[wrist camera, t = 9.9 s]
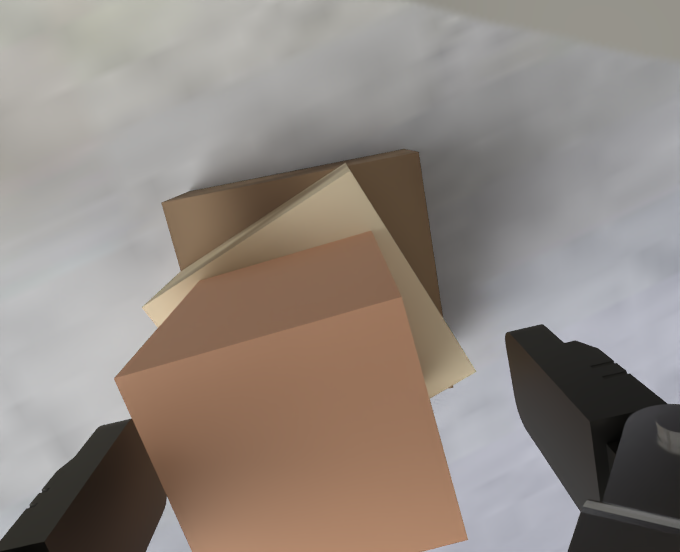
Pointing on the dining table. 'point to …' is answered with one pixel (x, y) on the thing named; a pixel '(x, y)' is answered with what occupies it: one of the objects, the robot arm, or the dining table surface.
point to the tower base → (272, 191)
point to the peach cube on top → (295, 411)
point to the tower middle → (317, 229)
